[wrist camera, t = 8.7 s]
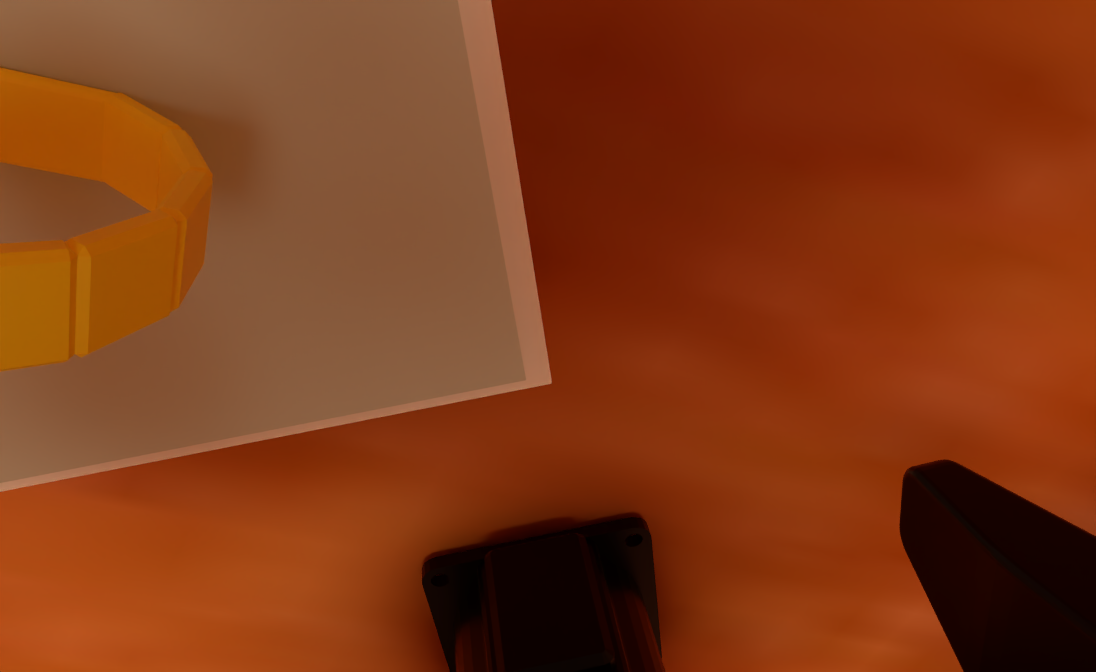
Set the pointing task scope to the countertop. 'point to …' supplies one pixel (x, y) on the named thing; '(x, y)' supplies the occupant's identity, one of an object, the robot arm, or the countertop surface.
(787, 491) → the countertop surface
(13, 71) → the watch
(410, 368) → the stand
